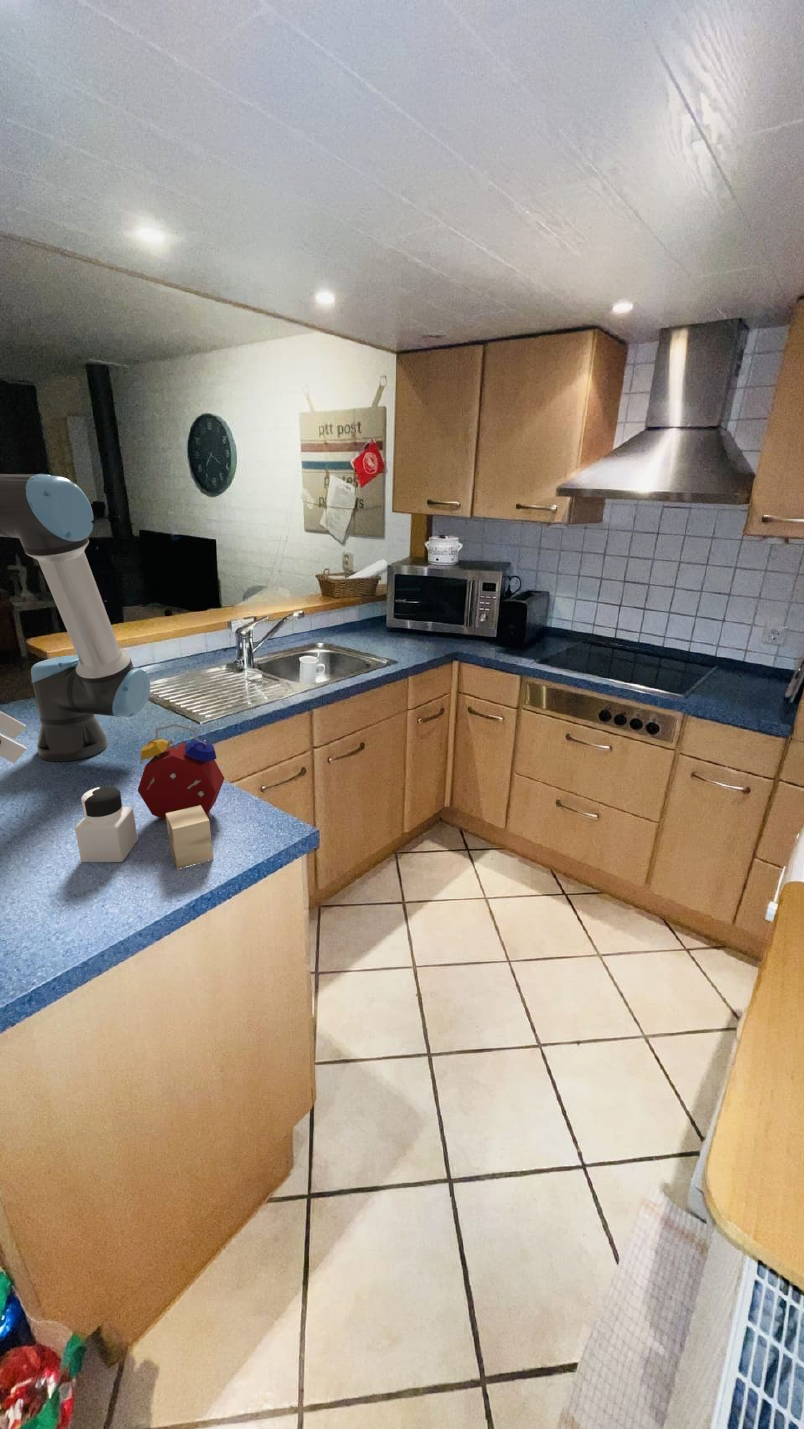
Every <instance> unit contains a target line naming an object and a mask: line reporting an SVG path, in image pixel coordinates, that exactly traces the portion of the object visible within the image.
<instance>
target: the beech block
mask: <svg viewBox="0 0 804 1429" xmlns="http://www.w3.org/2000/svg"><path fill="white" fill-rule="evenodd" d="M210 823H211V822H210V818H208V817H207V815H206V814H205V812H204V810H203V808H202V807H201V805H200V806H195V807H191V808H187V809H182V810H178V811H174V812H169V813H166V828H167V834H168V842H169V849H170V854H171V855H172V856H173V857H172V859H173V861H174V863H175V866H176V868H177V870H178V869H179V870H181V869H180V868H182V869H185V868H184V867H186V866H190V865H193V864H197V865H199V864H198V863H200V864H203V863H202V862H204V863H206V862H205V861H207V862H209V861H208V860H211V859H213V860H214V854H213V843H212V835H211V834H212V833H211V824H210ZM211 861H212V860H211ZM193 866H194V865H193ZM190 867H191V866H190ZM186 868H187V867H186Z"/></svg>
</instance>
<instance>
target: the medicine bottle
mask: <svg viewBox="0 0 804 1429" xmlns="http://www.w3.org/2000/svg"><path fill="white" fill-rule="evenodd" d="M80 800H81V804H82V806H81V807H82V810H83V815H84V817H83V818H82V819H81V820H80V821H79V822H78V824H77V825H75V826H74V831H75V836H76V842H77V847H78V852H79V856H80V861H81V862H82V863H123V861H124V860H125V859H126V858H127V856H128V855H129V853H130V852H131V851H132V849H133V847H134V846H135V845H136V843H137V842H138V833H137V826H136V820H135V813H134V809H133V807H132V806H128V807H127V806H123V802H122V794H121V791H120V789H118V788H117V787H114V786H98V787H94V788H92V789H90V790H87V791H86V792H84V794H83V795H82V796H81V798H80Z"/></svg>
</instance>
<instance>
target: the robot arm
mask: <svg viewBox="0 0 804 1429" xmlns="http://www.w3.org/2000/svg"><path fill="white" fill-rule="evenodd" d="M93 521H94V512H93V509H92V505H91V503H90V501H89V499H88V497H87V495H86V494H85V493H84V491H83V490H82V489H81V488H80V487H79V486H78V484H76V483H74V482H73V481H71V480H70V479H68V478H66V477H63V476H59V475H50V474H45V473H37V474H35V473H31V474H30V473H27V474H25V473H17V474H15V473H14V474H13V473H11V474H9V473H0V537H4V538H14V539H15V538H16V539H19V541H20V543H21V546H22V548H23V551H24V553H25V554H26V555H27V556H29V557H31V558H33V559H35V560H37V561H38V564H39V567H40V569H41V571H42V573H43V576H44V579H45V581H46V584H47V586H48V588H49V591H50V593H51V595H52V597H53V600H54V603H55V606H56V607H57V610H58V613H59V615H60V617H61V620H62V622H63V624H64V627H65V629H66V631H67V634H68V636H69V638H70V641H71V643H72V646H73V649H74V651H75V653H76V654H71V655H63V656H58V657H52V658H48V659H45V660H42V661H39V662H37V663H35V664H33V665H32V666H31V667H30V668H31V669H30V676H31V685H32V689H33V693H34V697H35V703H36V706H37V711H38V717H39V722H40V727H39V732H38V733H39V734H38V739H37V745H36V747H37V753H38V756H39V758H40V759H43V760H45V761H48V762H71V761H76V760H77V761H78V760H81V759H82V760H83V759H87V758H89V757H92V756H95V755H97V754H99V753H102V752H103V751H104V750H105V749H107V747H108V744H109V743H108V738H107V735H106V733H105V731H104V729H103V727H102V726H101V724H100V723H99V721H98V719H97V716H96V715H100V716H108V717H109V716H110V717H115V718H121V717H123V718H131V717H136V716H137V715H138V714H140V713H141V712H142V711H143V710H144V708H145V707H146V704H147V703H148V701H149V696H150V694H151V693H150V692H151V681H150V680H151V679H150V676H149V674H148V672H147V671H146V670H144V669H142V668H140V667H135V666H134V664H133V661H132V658H131V656H130V654H129V653H127V652H125V651H123V650H121V649H120V646H119V643H118V641H117V637H116V635H115V633H114V630H113V627H112V624H111V621H110V618H109V615H108V614H107V611H106V607H105V604H104V602H103V599H102V595H101V594H100V591H99V588H98V585H97V582H96V580H95V577H94V575H93V571H92V569H91V566H90V564H89V561H88V558H87V555H86V553H85V550H86V549H87V547H88V545H89V543H90V540H89V536H90V535H91V533H92V531H93V529H94V523H92V522H93ZM26 727H27V725H26V724H25V723H22V722H21V721H20V720H17V719H15V718H14V717H12V716H10V715H8V714H7V713H5V712H3V711H1V710H0V757H1V758H3V759H5V760H6V761H9V762H10V763H13V764H15V763H17V761H18V760H19V758H21V756H22V755H23V754H24V753H25V752H26V751H27V749H28V747H26V746H24V745H23V744H21V743H20V742H17V741H15V740H16V739H17V738H18V736H20V734H21V733H22V732H23V730H25V729H26Z"/></svg>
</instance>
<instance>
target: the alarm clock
mask: <svg viewBox="0 0 804 1429" xmlns="http://www.w3.org/2000/svg"><path fill="white" fill-rule="evenodd" d="M173 727H177V728H181V729H185V730H188V731H191V732H194V738H195V740H192V741H191V742H189V743H187V744H186V743H179V744H177V745H175V744H174V742H175V739H173V738H171V739H170V740H169V741H168V740H165V739H164V738H161V739H159V733H158V731H161V730H165V729H169V728H173ZM154 730H155V731H154V732H155V738H153V739H151V738H148V739H147V741H148V742H147V744H146V745H145V746H143V747H142V748H141V750H140V761H143V760H148V759H150V760H149V761H148V762H147V763H146V764H145V766H144V769H143V772H142V774H141V777H140V778H141V779H140V781H139V783H138V784H139V785H138V787H137V792H138V793H139V795H140V797H141V799H142V800H143V802H144V804H145V806H146V807H147V809H148V810H149V812H150V813H151V815H152V816H155V817H157V818H159V819H163V820H166V813H169V812H174V811H178V810H182V809H187V808H191V807H195V806H200V805H201V807H202V808H203V810H204V812H205V814H206V815H207V817H208V819H212V818H213V815H212V813H211V809H212V808H213V806H214V805H215V804H216V802H217V800H218V797H219V794H220V792H221V789H222V786H223V783H224V781H225V777H224V775H223V773H222V771H221V769H220V767H219V766H218V764H217V762H216V760H217V753H216V750H215V746H214V745H213V744H211V743H210V742H208V741H207V740H205V739H204V740H200V739H199V738H198V735H197V729H195V728H190V727H188V726H183V725H180V724H177V723H174V724H169V725H166V726H161V727H158V728H155V729H154ZM172 745H173V747H171V746H172ZM166 821H167V820H166Z"/></svg>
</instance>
